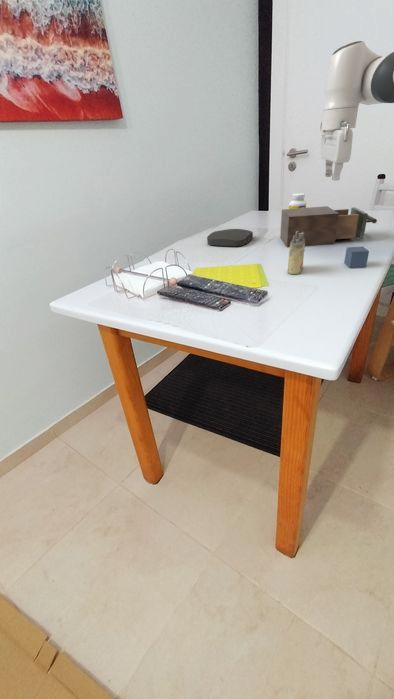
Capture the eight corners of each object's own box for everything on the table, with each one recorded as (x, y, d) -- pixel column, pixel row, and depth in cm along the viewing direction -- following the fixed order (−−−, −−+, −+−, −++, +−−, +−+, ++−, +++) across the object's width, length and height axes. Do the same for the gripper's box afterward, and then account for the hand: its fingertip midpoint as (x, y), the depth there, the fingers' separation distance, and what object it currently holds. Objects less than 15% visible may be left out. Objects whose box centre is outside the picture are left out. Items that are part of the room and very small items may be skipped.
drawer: (363, 229, 119) (367, 206, 115) (376, 238, 110) (381, 212, 106) (309, 233, 121) (312, 210, 117) (318, 241, 111) (321, 217, 107)
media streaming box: (203, 245, 121) (203, 237, 119) (219, 235, 131) (219, 227, 130) (242, 247, 115) (242, 239, 113) (255, 236, 126) (255, 228, 124)
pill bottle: (294, 228, 132) (296, 196, 126) (284, 225, 138) (286, 194, 131) (307, 225, 134) (310, 193, 128) (297, 222, 140) (299, 192, 133)
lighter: (299, 275, 90) (302, 237, 84) (285, 274, 91) (287, 236, 86) (303, 266, 95) (307, 230, 90) (289, 265, 96) (292, 229, 91)
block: (360, 262, 95) (363, 246, 92) (366, 267, 91) (369, 250, 89) (344, 263, 95) (346, 247, 93) (349, 268, 91) (352, 252, 89)
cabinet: (323, 234, 121) (327, 206, 116) (334, 244, 111) (339, 213, 106) (280, 237, 122) (281, 209, 117) (286, 247, 112) (288, 216, 107)
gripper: (362, 119, 83) (352, 181, 90) (341, 122, 100) (334, 174, 107) (335, 121, 83) (328, 183, 91) (319, 124, 101) (314, 175, 108)
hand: (331, 178), depth 99 cm, fingers open, 8 cm apart
